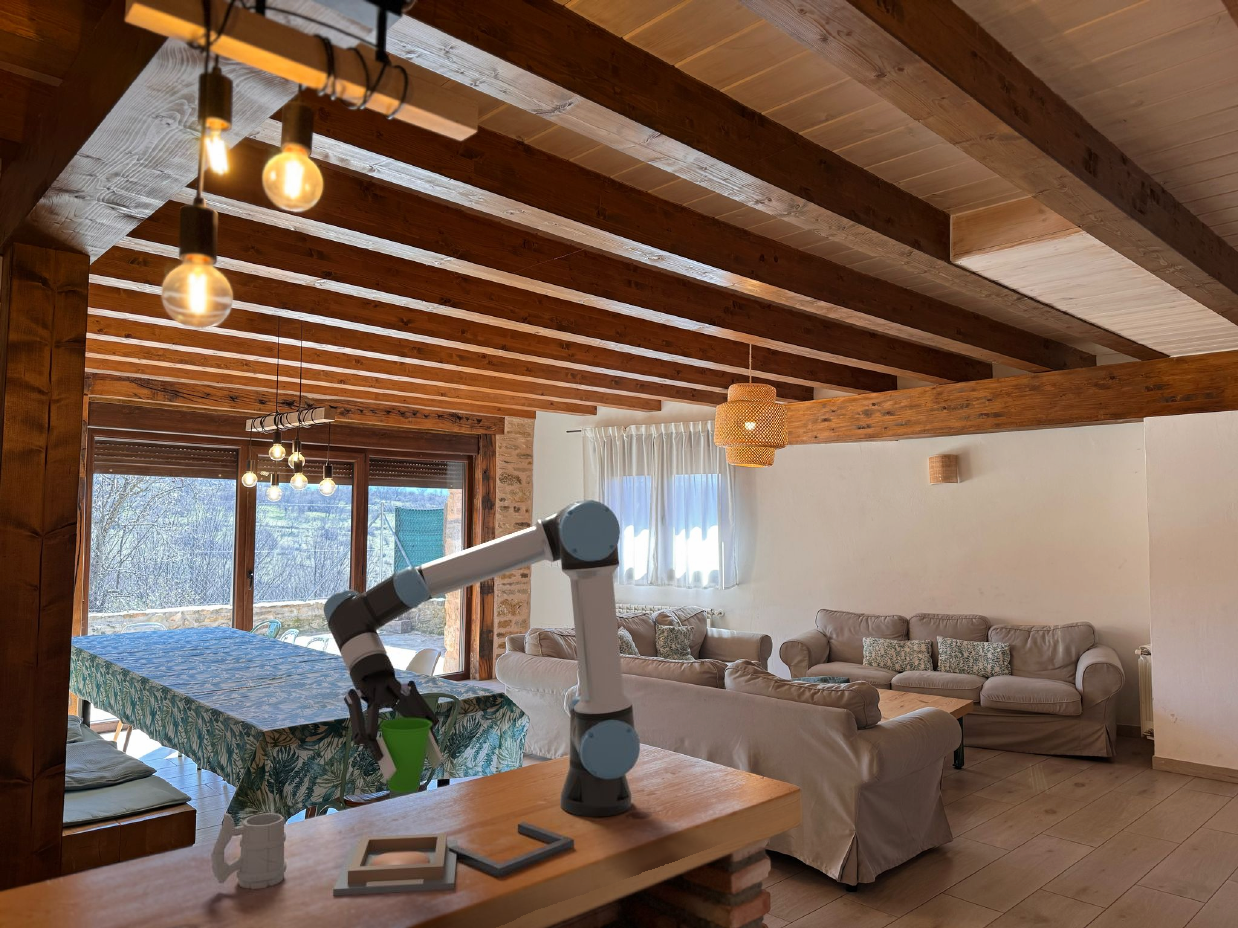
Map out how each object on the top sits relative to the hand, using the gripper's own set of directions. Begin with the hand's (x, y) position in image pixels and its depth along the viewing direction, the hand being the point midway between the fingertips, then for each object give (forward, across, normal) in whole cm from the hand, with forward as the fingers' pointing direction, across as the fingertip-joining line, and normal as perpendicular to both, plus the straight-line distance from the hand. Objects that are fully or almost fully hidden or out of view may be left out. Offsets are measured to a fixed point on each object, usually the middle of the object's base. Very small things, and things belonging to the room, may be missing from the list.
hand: (415, 769), depth 147 cm
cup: (+1, 0, -5) cm, 5 cm away
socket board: (+10, 0, -14) cm, 18 cm away
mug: (+1, +21, -24) cm, 32 cm away
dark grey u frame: (+16, -18, -8) cm, 25 cm away
